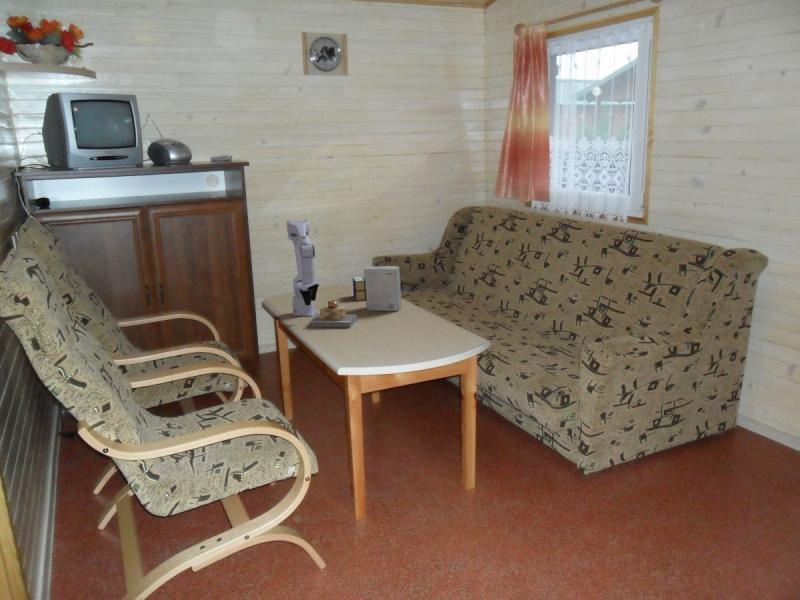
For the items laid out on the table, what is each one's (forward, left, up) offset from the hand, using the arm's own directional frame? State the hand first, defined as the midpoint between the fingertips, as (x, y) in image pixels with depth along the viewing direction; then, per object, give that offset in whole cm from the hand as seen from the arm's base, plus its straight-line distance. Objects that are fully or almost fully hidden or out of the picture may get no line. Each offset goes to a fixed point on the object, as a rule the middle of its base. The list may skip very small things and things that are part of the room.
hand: (310, 302), depth 284 cm
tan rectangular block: (+10, 0, -7) cm, 12 cm away
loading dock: (+10, 0, -9) cm, 14 cm away
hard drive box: (+28, +25, -10) cm, 39 cm away
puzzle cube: (+14, +46, -10) cm, 49 cm away
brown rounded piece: (+10, 0, -2) cm, 10 cm away
